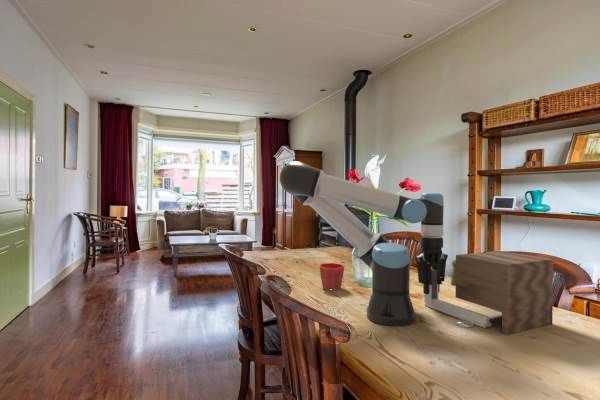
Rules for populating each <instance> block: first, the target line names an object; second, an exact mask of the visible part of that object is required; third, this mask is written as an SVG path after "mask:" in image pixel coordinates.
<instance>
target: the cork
mask: <svg viewBox="0 0 600 400" xmlns="http://www.w3.org/2000/svg"><path fill="white" fill-rule="evenodd" d="M451 266H452V272H451V273H452V274H451V279H450V285H452V286H455V287H456V259H452V261H451Z"/></svg>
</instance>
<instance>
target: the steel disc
mask: <svg viewBox="0 0 600 400" xmlns="http://www.w3.org/2000/svg"><path fill="white" fill-rule="evenodd" d="M455 325H456V326H458V327H461V328H467V329H468V328H469V329H470V328H473V327H474V324H473V322H471V321H468V320H462V319H455Z"/></svg>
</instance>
